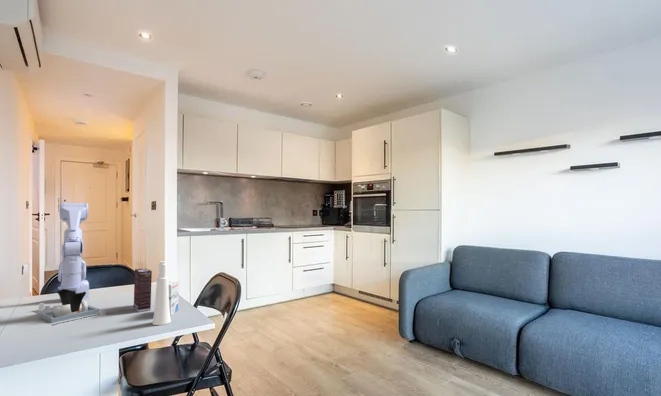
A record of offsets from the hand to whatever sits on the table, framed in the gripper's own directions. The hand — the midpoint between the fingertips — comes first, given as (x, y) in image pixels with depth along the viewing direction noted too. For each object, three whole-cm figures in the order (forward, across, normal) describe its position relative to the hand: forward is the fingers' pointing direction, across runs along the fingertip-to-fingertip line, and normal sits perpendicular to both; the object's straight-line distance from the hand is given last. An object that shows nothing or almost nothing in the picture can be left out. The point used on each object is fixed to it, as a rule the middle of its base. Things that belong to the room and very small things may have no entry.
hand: (70, 309), depth 131 cm
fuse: (+2, 0, 0) cm, 2 cm away
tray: (+3, 0, 0) cm, 3 cm away
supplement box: (+3, +11, +21) cm, 24 cm away
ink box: (+3, +25, +24) cm, 35 cm away
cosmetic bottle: (+3, +34, +16) cm, 38 cm away
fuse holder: (+3, -13, 0) cm, 13 cm away
